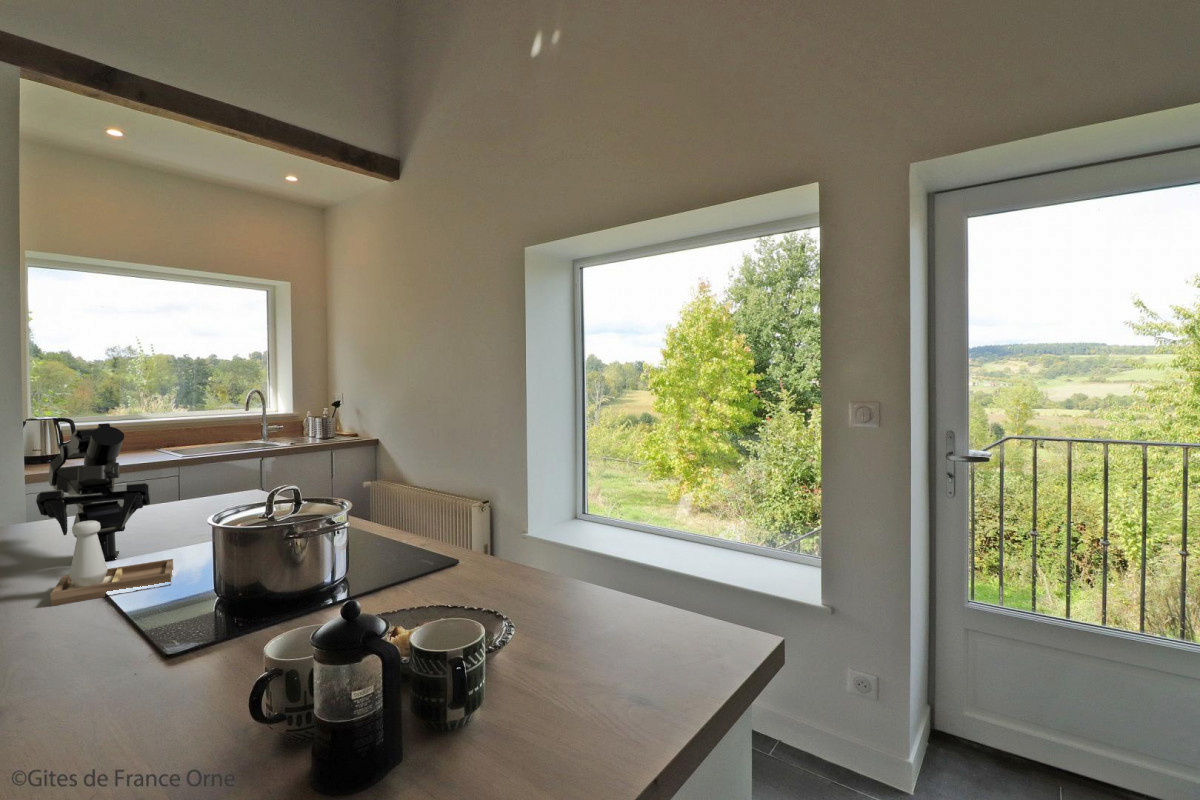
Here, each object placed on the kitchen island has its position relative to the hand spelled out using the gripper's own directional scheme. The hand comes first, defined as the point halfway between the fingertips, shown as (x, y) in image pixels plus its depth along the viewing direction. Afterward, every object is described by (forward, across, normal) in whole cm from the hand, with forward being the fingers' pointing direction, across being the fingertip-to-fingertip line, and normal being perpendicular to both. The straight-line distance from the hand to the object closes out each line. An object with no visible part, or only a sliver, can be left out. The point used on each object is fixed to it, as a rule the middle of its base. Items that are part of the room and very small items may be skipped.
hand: (93, 530), depth 123 cm
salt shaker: (+12, 0, +1) cm, 13 cm away
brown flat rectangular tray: (+13, +4, +1) cm, 14 cm away
